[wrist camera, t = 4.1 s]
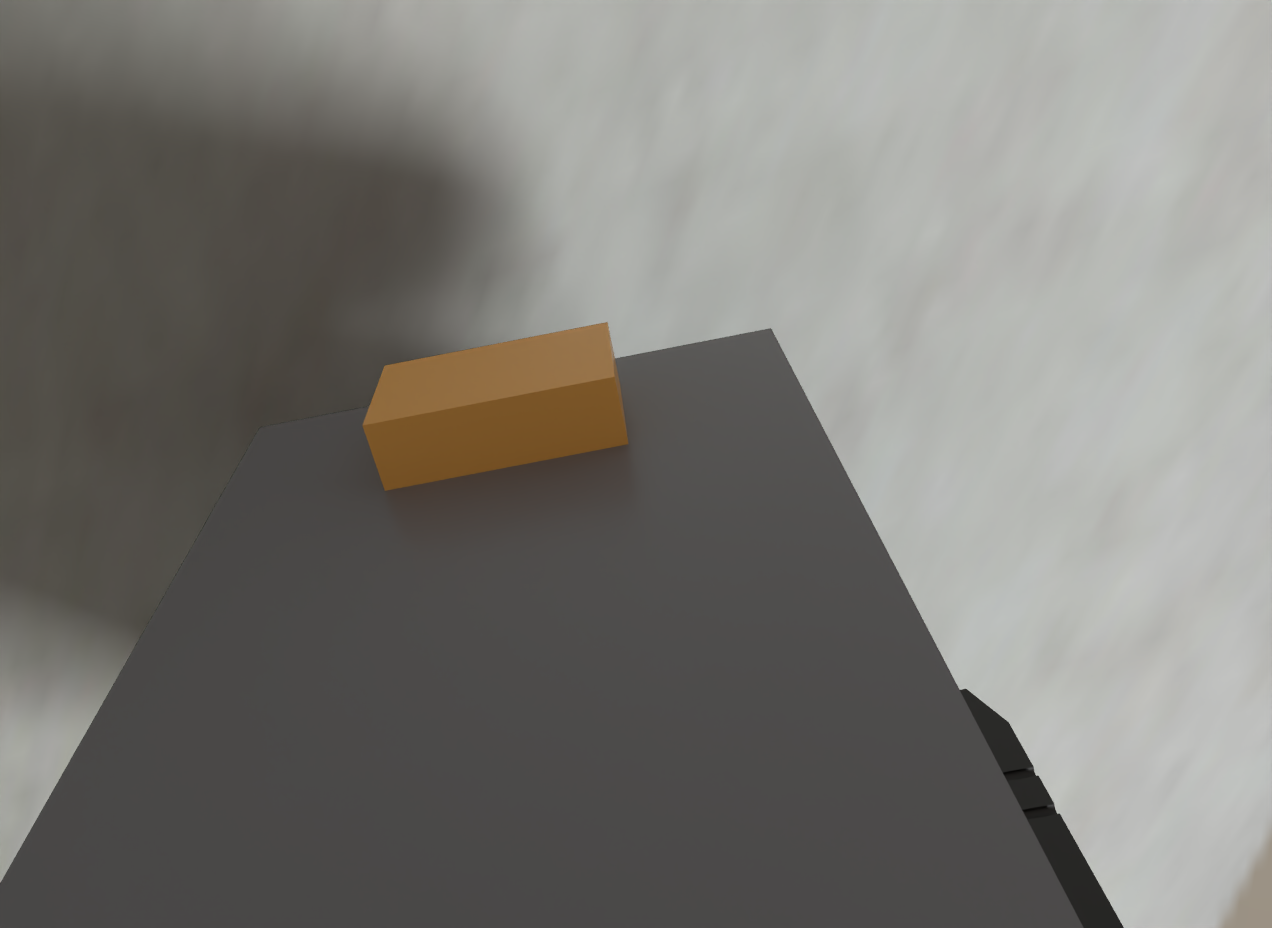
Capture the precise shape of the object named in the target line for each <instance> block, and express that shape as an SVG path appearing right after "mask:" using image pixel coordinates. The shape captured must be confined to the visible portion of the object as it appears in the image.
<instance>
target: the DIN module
mask: <svg viewBox="0 0 1272 928" xmlns="http://www.w3.org/2000/svg"><path fill="white" fill-rule="evenodd" d="M0 928H1083V926H1082V924H1081V922H1080V920H1079V918H1078V916H1077V914H1076V912H1075V910H1074V909H1073V907H1072V905H1071V903H1070V901H1069V899H1068V897H1067V895H1066V893H1065V891H1064V889H1063V887H1062V886H1061V884H1060V882H1059V880H1058V878H1057V876H1056V874H1055V872H1054V870H1053V868H1052V866H1051V864H1050V863H1049V861H1048V859H1047V857H1046V855H1045V853H1044V851H1043V849H1042V847H1041V845H1040V843H1039V841H1038V840H1037V838H1036V836H1035V834H1034V832H1033V830H1032V828H1031V826H1030V824H1029V822H1028V820H1027V818H1026V817H1025V815H1024V813H1023V811H1022V809H1021V807H1020V805H1019V803H1018V801H1017V799H1016V797H1015V795H1014V794H1013V792H1012V790H1011V788H1010V786H1009V784H1008V782H1007V780H1006V778H1005V776H1004V774H1003V772H1002V771H1001V769H1000V767H999V765H998V763H997V761H996V759H995V757H994V755H993V753H992V751H991V749H990V747H989V746H988V744H987V742H986V740H985V738H984V736H983V734H982V732H981V730H980V728H979V726H978V724H977V723H976V721H975V719H974V717H973V715H972V713H971V711H970V709H969V707H968V705H967V703H966V701H965V700H964V698H963V696H962V694H961V692H960V690H959V688H958V686H957V684H956V682H955V680H954V678H953V677H952V675H951V673H950V671H949V669H948V667H947V665H946V663H945V661H944V659H943V657H942V655H941V654H940V652H939V650H938V648H937V646H936V644H935V642H934V640H933V638H932V636H931V634H930V632H929V631H928V629H927V627H926V625H925V623H924V621H923V619H922V617H921V615H920V613H919V611H918V609H917V608H916V606H915V604H914V602H913V600H912V598H911V596H910V594H909V592H908V590H907V588H906V586H905V584H904V583H903V581H902V579H901V577H900V575H899V573H898V571H897V569H896V567H895V565H894V563H893V561H892V560H891V558H890V556H889V554H888V552H887V550H886V548H885V546H884V544H883V542H882V540H881V538H880V537H879V535H878V533H877V531H876V529H875V527H874V525H873V523H872V521H871V519H870V517H869V515H868V514H867V512H866V510H865V508H864V506H863V504H862V502H861V500H860V498H859V496H858V494H857V492H856V491H855V489H854V487H853V485H852V483H851V481H850V479H849V477H848V475H847V473H846V471H845V469H844V468H843V466H842V464H841V462H840V460H839V458H838V456H837V454H836V452H835V450H834V448H833V446H832V445H831V443H830V441H829V439H828V437H827V435H826V433H825V431H824V429H823V427H822V425H821V423H820V421H819V420H818V418H817V416H816V414H815V412H814V410H813V408H812V406H811V404H810V402H809V400H808V398H807V397H806V395H805V393H804V391H803V389H802V387H801V385H800V383H799V381H798V379H797V377H796V375H795V374H794V372H793V370H792V368H791V366H790V364H789V362H788V360H787V358H786V356H785V354H784V352H783V351H782V349H781V347H780V345H779V343H778V341H777V339H776V337H775V335H774V333H773V331H772V329H771V328H770V329H765V330H760V331H755V332H750V333H745V334H739V335H734V336H729V337H724V338H719V339H714V340H708V341H703V342H698V343H693V344H688V345H683V346H677V347H672V348H667V349H662V350H657V351H652V352H646V353H641V354H636V355H631V356H626V357H621V358H615V357H614V352H613V347H612V342H611V337H610V332H609V327H608V323H607V322H606V323H601V324H596V325H591V326H585V327H580V328H575V329H570V330H565V331H560V332H555V333H549V334H544V335H539V336H534V337H529V338H524V339H519V340H513V341H508V342H503V343H498V344H493V345H488V346H483V347H477V348H472V349H467V350H462V351H457V352H452V353H447V354H441V355H436V356H431V357H426V358H421V359H416V360H411V361H405V362H400V363H395V364H390V365H385V366H384V369H383V371H382V374H381V377H380V379H379V382H378V385H377V387H376V390H375V393H374V395H373V398H372V401H371V404H370V406H368V407H363V408H357V409H352V410H347V411H342V412H337V413H332V414H326V415H321V416H316V417H311V418H306V419H301V420H295V421H290V422H285V423H280V424H275V425H270V426H264V427H260V428H259V430H258V431H257V433H256V435H255V437H254V438H253V440H252V442H251V444H250V445H249V447H248V449H247V451H246V452H245V454H244V456H243V458H242V460H241V461H240V463H239V465H238V467H237V468H236V470H235V472H234V474H233V475H232V477H231V479H230V481H229V482H228V484H227V486H226V488H225V489H224V491H223V493H222V495H221V496H220V498H219V500H218V502H217V503H216V505H215V507H214V509H213V510H212V512H211V514H210V516H209V518H208V519H207V521H206V523H205V525H204V526H203V528H202V530H201V532H200V533H199V535H198V537H197V539H196V540H195V542H194V544H193V546H192V547H191V549H190V551H189V553H188V554H187V556H186V558H185V560H184V561H183V563H182V565H181V567H180V568H179V570H178V572H177V574H176V576H175V577H174V579H173V581H172V583H171V584H170V586H169V588H168V590H167V591H166V593H165V595H164V597H163V598H162V600H161V602H160V604H159V605H158V607H157V609H156V611H155V612H154V614H153V616H152V618H151V619H150V621H149V623H148V625H147V626H146V628H145V630H144V632H143V634H142V635H141V637H140V639H139V641H138V642H137V644H136V646H135V648H134V649H133V651H132V653H131V655H130V656H129V658H128V660H127V662H126V663H125V665H124V667H123V669H122V670H121V672H120V674H119V676H118V677H117V679H116V681H115V683H114V684H113V686H112V688H111V690H110V691H109V693H108V695H107V697H106V699H105V700H104V702H103V704H102V706H101V707H100V709H99V711H98V713H97V714H96V716H95V718H94V720H93V721H92V723H91V725H90V727H89V728H88V730H87V732H86V734H85V735H84V737H83V739H82V741H81V742H80V744H79V746H78V748H77V749H76V751H75V753H74V755H73V757H72V758H71V760H70V762H69V764H68V765H67V767H66V769H65V771H64V772H63V774H62V776H61V778H60V779H59V781H58V783H57V785H56V786H55V788H54V790H53V792H52V793H51V795H50V797H49V799H48V800H47V802H46V804H45V806H44V807H43V809H42V811H41V813H40V815H39V816H38V818H37V820H36V822H35V823H34V825H33V827H32V829H31V830H30V832H29V834H28V836H27V837H26V839H25V841H24V843H23V844H22V846H21V848H20V850H19V851H18V853H17V855H16V857H15V858H14V860H13V862H12V864H11V865H10V867H9V869H8V871H7V872H6V874H5V876H4V878H3V880H2V881H1V883H0Z"/></svg>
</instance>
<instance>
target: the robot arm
mask: <svg viewBox="0 0 1272 928" xmlns="http://www.w3.org/2000/svg"><path fill="white" fill-rule="evenodd" d="M960 692H961V694H962V696H963V698H964V700H965V701H966V703H967V705H968V707H969V709H970V711H971V713H972V715H973V717H974V719H975V721H976V723H977V724H978V726H979V728H980V730H981V732H982V734H983V736H984V738H985V740H986V742H987V744H988V746H989V747H990V749H991V751H992V753H993V755H994V757H995V759H996V761H997V763H998V765H999V767H1000V769H1001V771H1002V772H1003V774H1004V776H1005V778H1006V780H1007V782H1008V784H1009V786H1010V788H1011V790H1012V792H1013V794H1014V795H1015V797H1016V799H1017V801H1018V803H1019V805H1020V807H1021V809H1022V811H1023V813H1024V815H1025V817H1026V818H1027V820H1028V822H1029V824H1030V826H1031V828H1032V830H1033V832H1034V834H1035V836H1036V838H1037V840H1038V841H1039V843H1040V845H1041V847H1042V849H1043V851H1044V853H1045V855H1046V857H1047V859H1048V861H1049V863H1050V864H1051V866H1052V868H1053V870H1054V872H1055V874H1056V876H1057V878H1058V880H1059V882H1060V884H1061V886H1062V887H1063V889H1064V891H1065V893H1066V895H1067V897H1068V899H1069V901H1070V903H1071V905H1072V907H1073V909H1074V910H1075V912H1076V914H1077V916H1078V918H1079V920H1080V922H1081V924H1082V926H1083V928H1124V927H1123V926H1122V924H1121V922H1120V920H1119V918H1118V917H1117V915H1116V913H1115V911H1114V910H1113V908H1112V906H1111V904H1110V902H1109V901H1108V899H1107V897H1106V895H1105V894H1104V892H1103V890H1102V888H1101V886H1100V885H1099V883H1098V881H1097V879H1096V877H1095V876H1094V874H1093V872H1092V870H1091V869H1090V867H1089V865H1088V863H1087V861H1086V860H1085V858H1084V856H1083V854H1082V853H1081V851H1080V849H1079V847H1078V845H1077V844H1076V842H1075V840H1074V838H1073V836H1072V835H1071V833H1070V831H1069V829H1068V828H1067V826H1066V824H1065V822H1064V820H1063V819H1062V817H1061V815H1060V814H1057V813H1056V810H1055V806H1054V803H1053V801H1052V799H1051V797H1050V795H1049V794H1048V792H1047V790H1046V788H1045V787H1044V785H1043V783H1042V781H1041V779H1040V778H1039V776H1036V775H1035V772H1034V768H1033V765H1032V763H1031V762H1030V760H1029V758H1028V756H1027V754H1026V753H1025V751H1024V749H1023V747H1022V746H1021V744H1020V742H1019V740H1018V738H1017V737H1016V735H1015V733H1014V731H1013V729H1012V728H1011V726H1010V724H1009V722H1007V721H1006V720H1005V719H1004V718H1002V717H1001V716H1000V715H998V714H997V713H996V712H995V711H993V710H992V709H991V708H990V707H988V706H987V705H986V704H985V703H983V702H982V701H981V700H979V699H978V698H977V697H976V696H974V695H973V694H972V693H971V692H969V691H968V690H967V689H963V690H960Z"/></svg>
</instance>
